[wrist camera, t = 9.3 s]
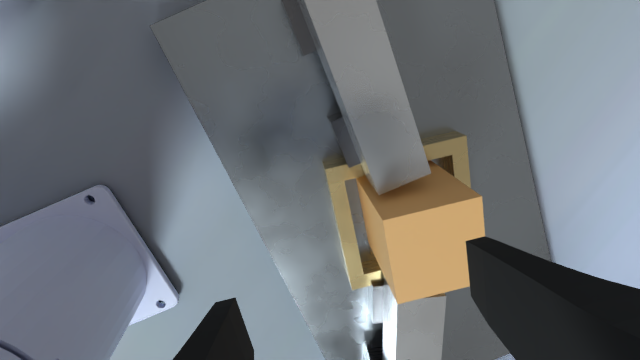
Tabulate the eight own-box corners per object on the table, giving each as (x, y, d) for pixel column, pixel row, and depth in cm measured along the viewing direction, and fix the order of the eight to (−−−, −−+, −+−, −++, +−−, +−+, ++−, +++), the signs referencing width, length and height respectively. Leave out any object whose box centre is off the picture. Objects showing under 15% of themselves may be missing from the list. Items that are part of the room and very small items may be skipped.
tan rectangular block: (437, 225, 21) (488, 281, 16) (368, 242, 21) (397, 304, 16) (428, 158, 20) (481, 196, 15) (355, 176, 20) (382, 220, 15)
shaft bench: (352, 402, 26) (367, 477, 21) (156, 27, 17) (112, 17, 13) (555, 320, 26) (616, 379, 21) (457, -107, 17) (524, -167, 12)
